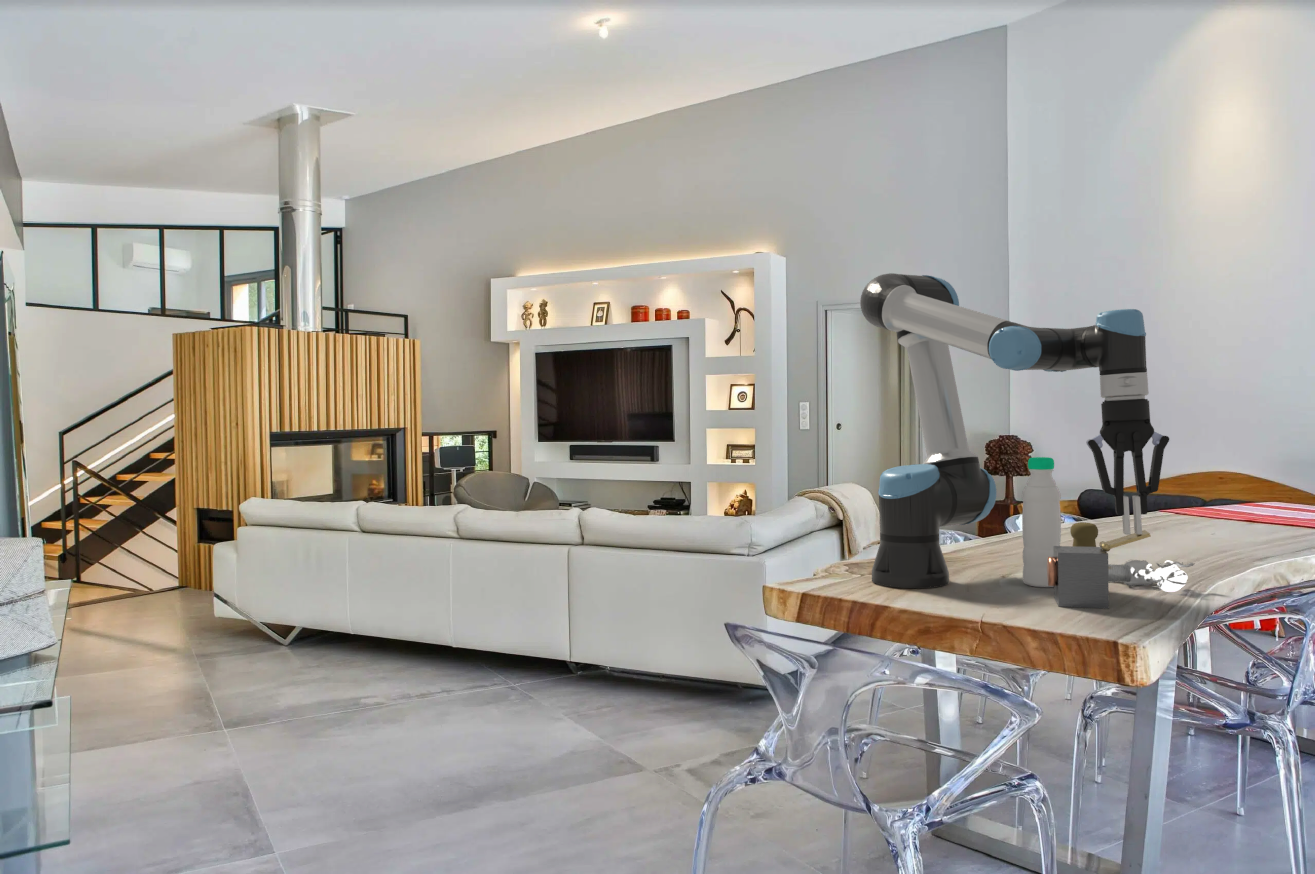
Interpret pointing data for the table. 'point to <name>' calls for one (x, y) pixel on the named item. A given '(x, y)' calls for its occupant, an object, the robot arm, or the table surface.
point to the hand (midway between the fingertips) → (1132, 533)
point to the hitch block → (1081, 577)
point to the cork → (1084, 534)
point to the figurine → (1158, 574)
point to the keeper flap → (1123, 540)
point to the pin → (1114, 572)
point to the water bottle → (1040, 521)
